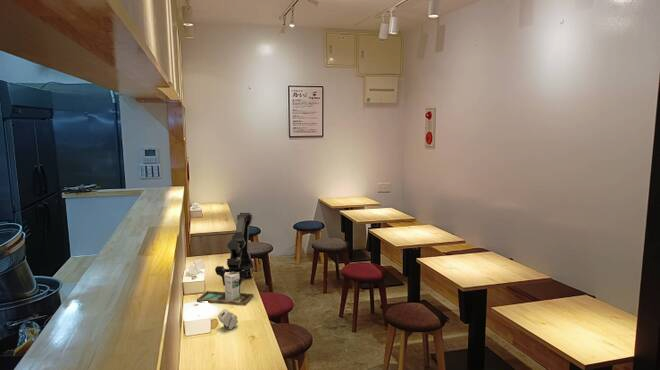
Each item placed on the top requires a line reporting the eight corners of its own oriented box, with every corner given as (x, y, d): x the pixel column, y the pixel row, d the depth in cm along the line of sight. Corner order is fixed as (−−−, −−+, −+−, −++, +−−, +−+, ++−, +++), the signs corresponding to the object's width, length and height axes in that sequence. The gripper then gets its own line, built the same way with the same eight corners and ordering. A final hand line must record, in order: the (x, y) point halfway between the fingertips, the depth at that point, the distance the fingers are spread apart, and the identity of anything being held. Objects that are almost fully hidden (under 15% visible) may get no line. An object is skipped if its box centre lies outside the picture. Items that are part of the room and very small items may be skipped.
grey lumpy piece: (227, 328, 204) (213, 317, 199) (236, 316, 206) (223, 304, 201) (233, 333, 199) (219, 321, 194) (242, 320, 202) (229, 309, 197)
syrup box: (232, 302, 228) (231, 276, 226) (225, 300, 232) (223, 273, 230) (240, 299, 233) (239, 273, 231) (233, 296, 236) (232, 270, 234)
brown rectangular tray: (253, 296, 236) (253, 294, 236) (245, 305, 225) (245, 302, 225) (207, 293, 241) (207, 290, 241) (197, 301, 230) (196, 299, 230)
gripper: (215, 251, 233) (210, 279, 223) (250, 251, 232) (246, 278, 223) (219, 261, 241) (215, 288, 232) (253, 261, 241) (250, 287, 232)
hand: (231, 285), depth 230 cm, fingers closed on syrup box, 8 cm apart
